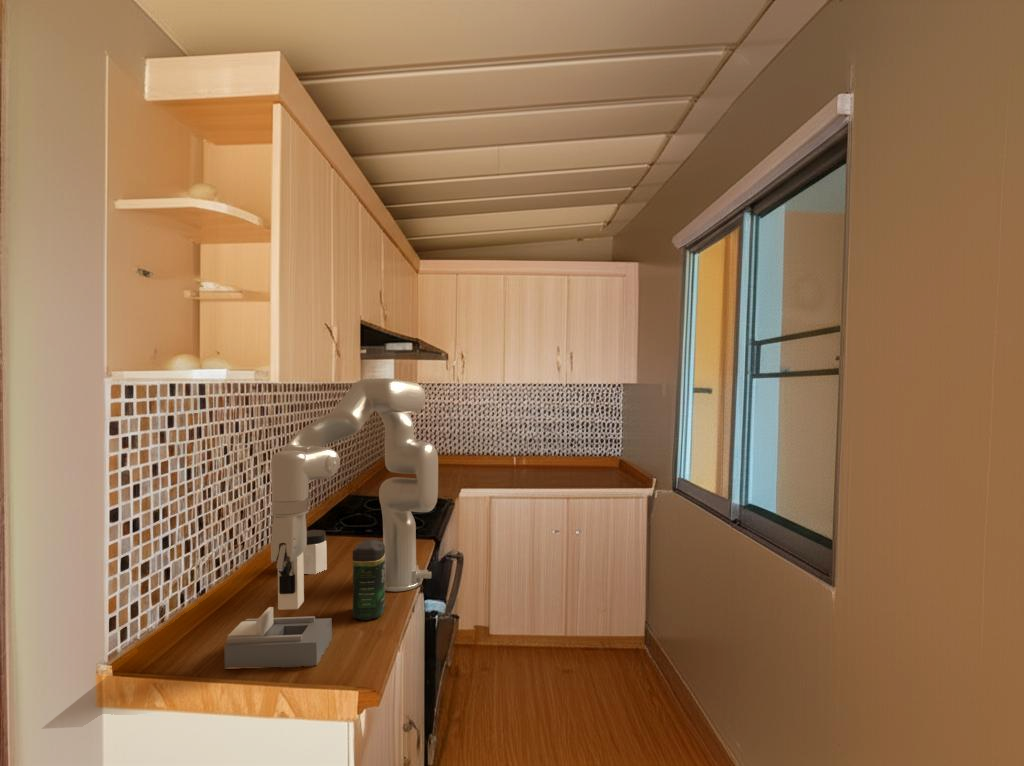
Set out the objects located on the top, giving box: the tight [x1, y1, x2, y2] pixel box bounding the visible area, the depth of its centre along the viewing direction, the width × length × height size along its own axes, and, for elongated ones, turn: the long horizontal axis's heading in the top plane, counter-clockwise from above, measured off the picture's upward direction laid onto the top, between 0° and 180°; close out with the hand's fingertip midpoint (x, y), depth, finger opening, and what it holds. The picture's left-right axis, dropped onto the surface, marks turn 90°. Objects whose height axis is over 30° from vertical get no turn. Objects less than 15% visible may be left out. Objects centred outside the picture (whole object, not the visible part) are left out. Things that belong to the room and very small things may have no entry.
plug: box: [277, 552, 305, 611], centre depth 122 cm, size 4×4×14 cm
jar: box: [303, 529, 328, 575], centre depth 176 cm, size 9×8×12 cm
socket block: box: [223, 615, 333, 669], centre depth 122 cm, size 19×12×6 cm, turn 93°
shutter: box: [227, 606, 274, 638], centre depth 122 cm, size 7×7×4 cm
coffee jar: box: [351, 539, 386, 621], centre depth 143 cm, size 10×8×19 cm
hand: (291, 588), depth 122 cm, fingers closed on plug, 4 cm apart
